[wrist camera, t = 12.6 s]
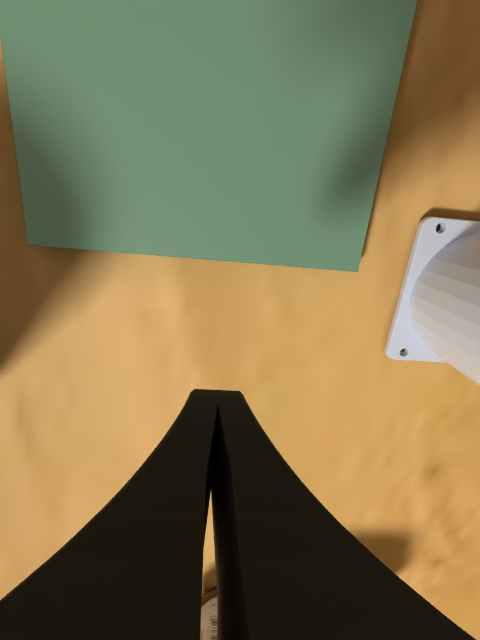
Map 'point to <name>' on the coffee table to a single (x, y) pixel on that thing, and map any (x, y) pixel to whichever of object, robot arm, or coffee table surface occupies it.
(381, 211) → the coffee table surface
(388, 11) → the board
